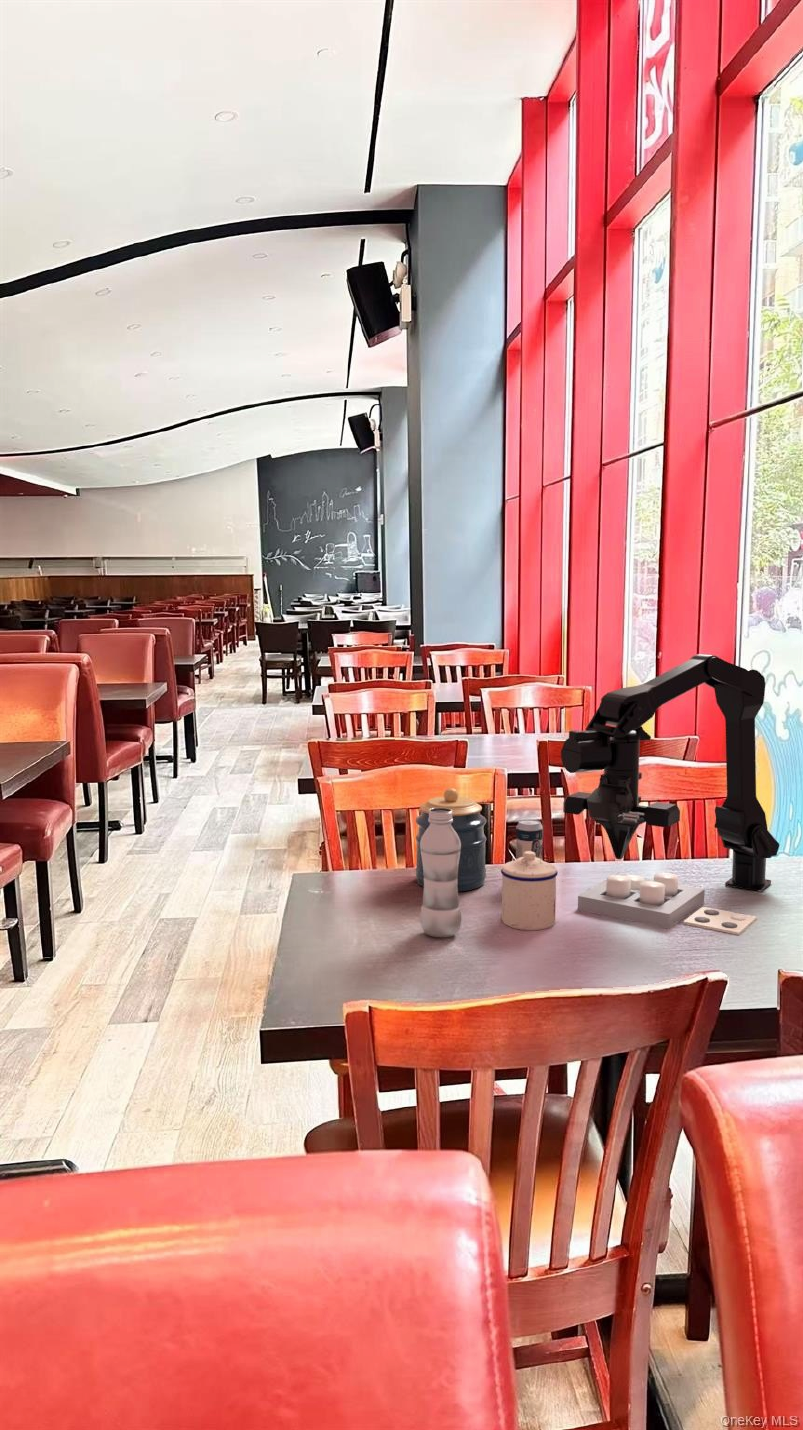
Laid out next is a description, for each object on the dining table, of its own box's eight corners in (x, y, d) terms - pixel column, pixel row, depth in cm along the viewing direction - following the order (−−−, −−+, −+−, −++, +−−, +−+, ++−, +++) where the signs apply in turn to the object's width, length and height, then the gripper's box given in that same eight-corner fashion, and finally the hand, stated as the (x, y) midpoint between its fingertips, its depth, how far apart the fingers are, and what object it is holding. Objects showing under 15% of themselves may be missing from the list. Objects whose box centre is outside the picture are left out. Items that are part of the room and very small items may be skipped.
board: (617, 886, 180) (617, 873, 180) (704, 902, 171) (704, 889, 171) (577, 909, 168) (577, 895, 167) (669, 928, 158) (669, 914, 158)
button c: (612, 892, 171) (612, 874, 171) (633, 896, 169) (634, 878, 169) (602, 898, 168) (602, 879, 168) (624, 902, 166) (624, 883, 165)
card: (702, 909, 168) (702, 905, 168) (756, 919, 162) (757, 916, 162) (683, 923, 160) (683, 920, 160) (739, 935, 155) (739, 931, 155)
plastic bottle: (433, 945, 152) (433, 817, 149) (412, 931, 158) (412, 808, 155) (469, 938, 155) (470, 812, 152) (447, 925, 160) (447, 803, 158)
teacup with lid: (567, 926, 159) (569, 856, 158) (518, 935, 156) (519, 863, 154) (528, 904, 170) (529, 838, 169) (481, 912, 167) (482, 844, 165)
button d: (645, 898, 168) (645, 880, 167) (667, 902, 165) (668, 884, 165) (635, 904, 165) (636, 885, 164) (658, 909, 162) (659, 890, 162)
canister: (401, 883, 183) (400, 789, 181) (446, 868, 193) (446, 778, 190) (455, 898, 174) (455, 799, 172) (500, 881, 184) (501, 787, 181)
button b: (658, 889, 173) (659, 871, 172) (681, 893, 170) (681, 875, 170) (649, 895, 169) (650, 877, 169) (672, 899, 167) (672, 881, 167)
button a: (626, 891, 176) (626, 874, 176) (647, 895, 174) (648, 877, 173) (616, 897, 173) (617, 879, 173) (638, 901, 171) (638, 883, 170)
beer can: (541, 891, 178) (542, 825, 176) (514, 889, 179) (515, 824, 177) (542, 883, 182) (543, 819, 181) (516, 882, 183) (517, 818, 182)
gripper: (548, 769, 165) (547, 860, 167) (656, 782, 154) (653, 879, 156) (578, 759, 174) (577, 846, 176) (682, 770, 163) (679, 863, 165)
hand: (619, 858), depth 168 cm, fingers closed
